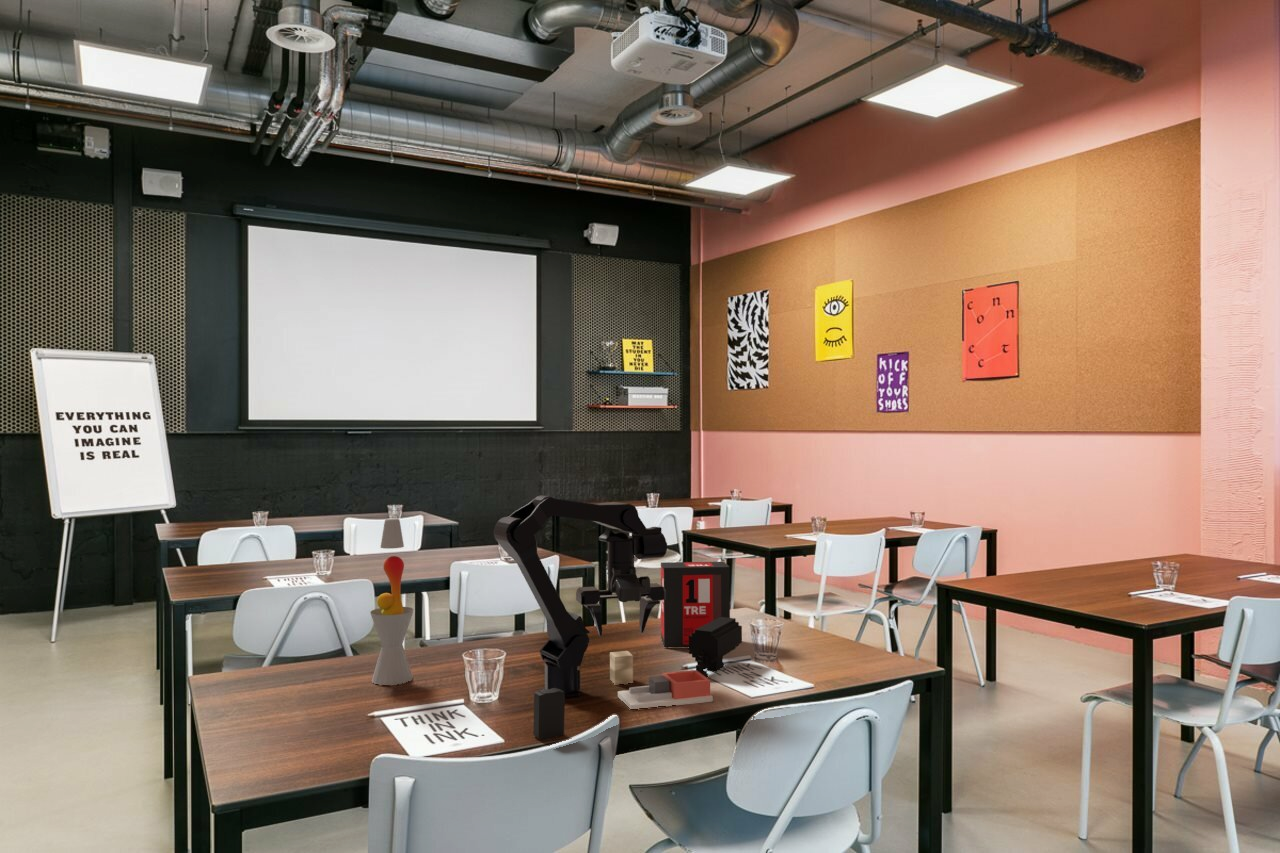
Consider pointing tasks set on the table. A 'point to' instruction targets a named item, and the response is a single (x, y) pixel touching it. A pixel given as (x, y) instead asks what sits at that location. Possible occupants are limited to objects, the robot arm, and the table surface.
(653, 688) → the toggle
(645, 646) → the table surface
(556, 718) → the ink cartridge
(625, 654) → the block
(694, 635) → the security camera
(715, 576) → the cleaning product box
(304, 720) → the table surface
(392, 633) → the lava lamp
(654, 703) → the slide switch base
